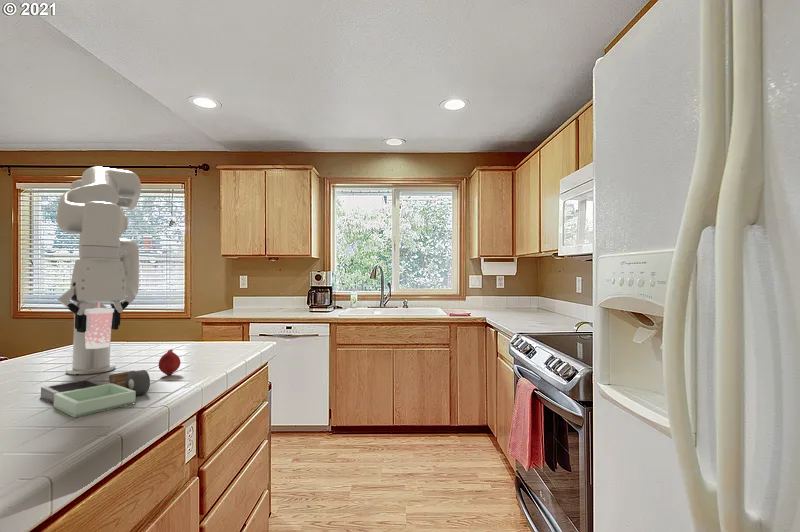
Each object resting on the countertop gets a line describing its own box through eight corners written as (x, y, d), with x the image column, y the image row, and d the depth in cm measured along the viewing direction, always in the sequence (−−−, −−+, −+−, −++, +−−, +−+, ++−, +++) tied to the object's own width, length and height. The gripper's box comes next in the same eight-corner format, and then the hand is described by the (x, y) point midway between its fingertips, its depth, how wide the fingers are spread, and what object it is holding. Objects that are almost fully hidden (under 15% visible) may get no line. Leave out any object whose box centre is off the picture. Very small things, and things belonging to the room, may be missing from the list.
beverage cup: (110, 348, 96) (112, 288, 96) (78, 350, 93) (80, 288, 94) (115, 344, 101) (117, 287, 102) (84, 346, 99) (86, 287, 99)
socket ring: (40, 397, 102) (41, 387, 102) (87, 388, 111) (88, 378, 111) (56, 404, 97) (56, 394, 97) (104, 394, 105) (105, 385, 105)
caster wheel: (124, 393, 107) (125, 370, 107) (138, 390, 109) (139, 368, 110) (136, 398, 103) (137, 374, 103) (150, 394, 106) (151, 371, 106)
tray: (53, 407, 95) (54, 394, 95) (112, 394, 105) (112, 383, 106) (75, 417, 89) (75, 403, 89) (135, 403, 99) (135, 391, 99)
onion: (170, 378, 123) (171, 351, 123) (153, 377, 124) (154, 350, 124) (184, 374, 128) (184, 348, 128) (168, 372, 129) (168, 347, 130)
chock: (108, 391, 109) (109, 374, 109) (133, 386, 114) (133, 370, 114) (117, 395, 106) (118, 377, 106) (142, 389, 111) (143, 373, 111)
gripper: (132, 256, 107) (129, 325, 107) (49, 252, 93) (46, 332, 92) (147, 256, 103) (144, 328, 103) (62, 252, 89) (59, 336, 88)
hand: (98, 329), depth 98 cm, fingers closed on beverage cup, 6 cm apart
